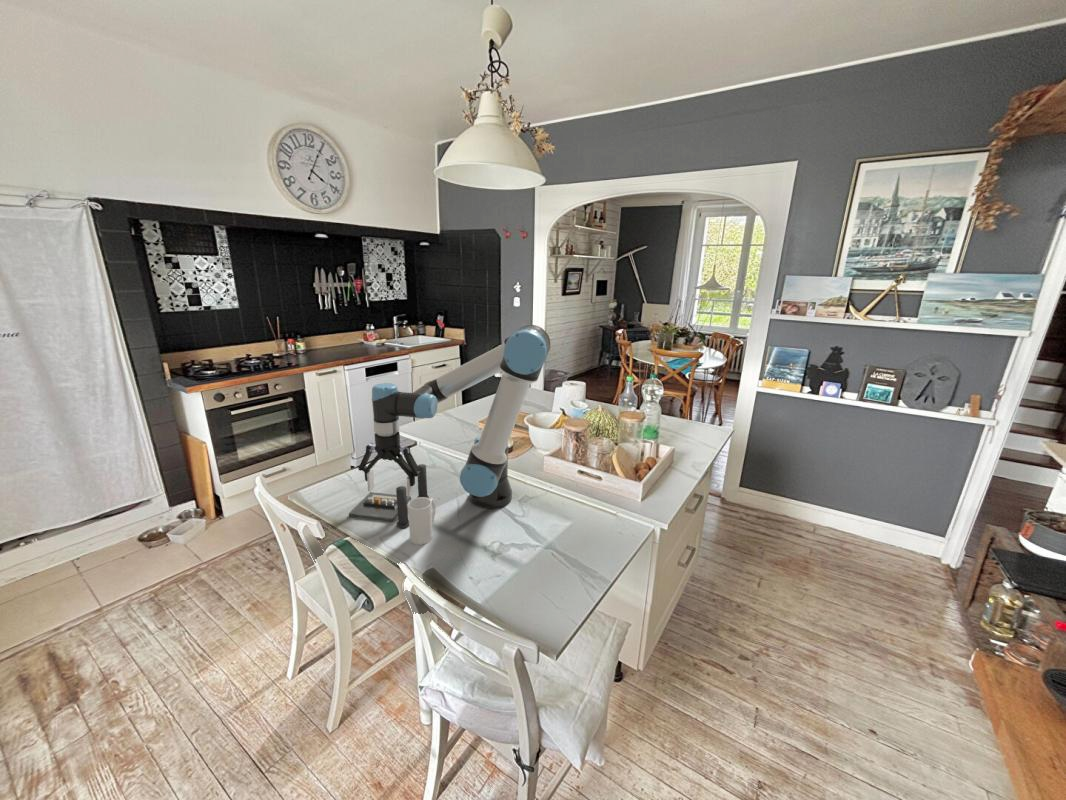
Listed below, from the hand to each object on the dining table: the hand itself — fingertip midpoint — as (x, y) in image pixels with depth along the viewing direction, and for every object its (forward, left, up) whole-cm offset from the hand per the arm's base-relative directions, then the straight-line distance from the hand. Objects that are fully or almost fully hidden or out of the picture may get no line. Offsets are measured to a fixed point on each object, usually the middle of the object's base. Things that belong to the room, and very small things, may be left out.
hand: (390, 491), depth 140 cm
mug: (-16, +12, -7) cm, 21 cm away
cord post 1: (-8, +8, -6) cm, 13 cm away
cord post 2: (-8, -8, -6) cm, 13 cm away
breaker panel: (+4, 0, -6) cm, 7 cm away
